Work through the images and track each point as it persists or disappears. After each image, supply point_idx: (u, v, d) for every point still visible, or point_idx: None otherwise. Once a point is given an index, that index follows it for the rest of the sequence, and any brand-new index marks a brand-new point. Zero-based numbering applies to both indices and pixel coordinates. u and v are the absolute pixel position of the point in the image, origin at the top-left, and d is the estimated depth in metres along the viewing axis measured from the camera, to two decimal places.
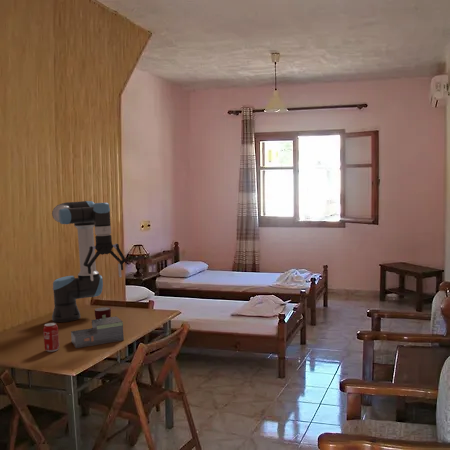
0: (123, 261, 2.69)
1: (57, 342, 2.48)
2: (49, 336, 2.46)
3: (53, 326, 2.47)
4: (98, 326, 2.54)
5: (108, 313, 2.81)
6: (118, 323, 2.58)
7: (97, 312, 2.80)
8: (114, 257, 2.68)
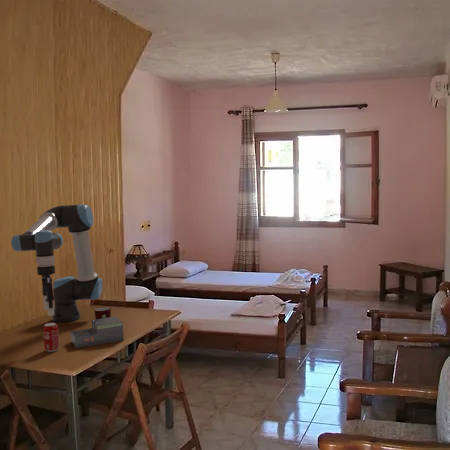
0: None
1: (57, 342, 2.48)
2: (49, 336, 2.46)
3: (53, 326, 2.47)
4: (98, 326, 2.54)
5: (108, 313, 2.81)
6: (118, 323, 2.58)
7: (97, 312, 2.80)
8: None
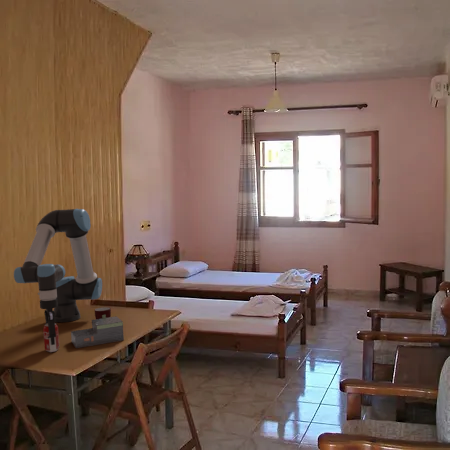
0: None
1: (57, 342, 2.48)
2: None
3: None
4: (98, 326, 2.54)
5: (108, 313, 2.81)
6: (118, 323, 2.58)
7: (97, 312, 2.80)
8: None
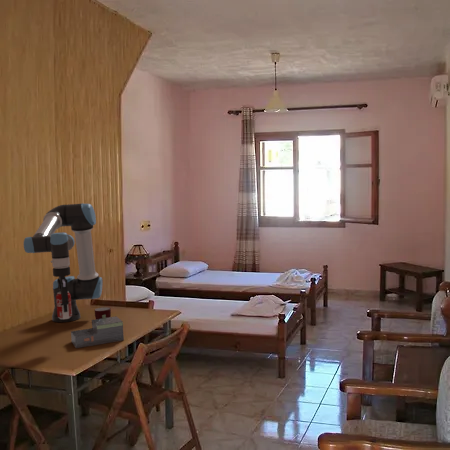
0: None
1: (70, 310, 2.51)
2: None
3: None
4: (98, 326, 2.54)
5: (108, 313, 2.81)
6: (118, 323, 2.58)
7: (97, 312, 2.80)
8: None
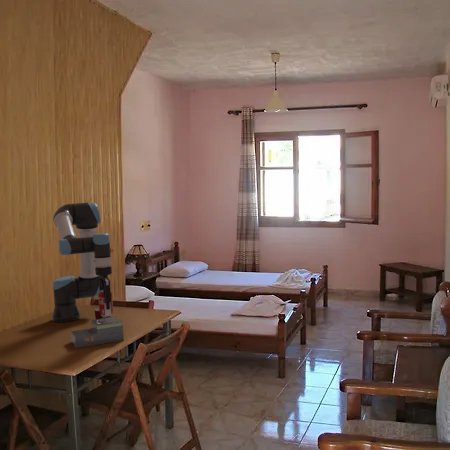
0: None
1: (111, 307, 2.60)
2: None
3: None
4: (98, 326, 2.54)
5: None
6: (118, 323, 2.58)
7: (97, 312, 2.80)
8: None
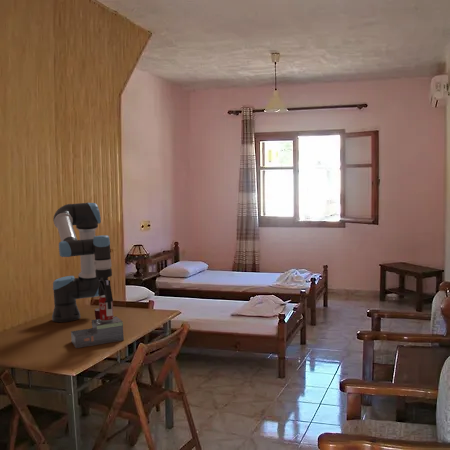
0: None
1: None
2: (105, 306, 2.58)
3: None
4: (98, 326, 2.54)
5: None
6: (118, 323, 2.58)
7: (97, 312, 2.80)
8: None
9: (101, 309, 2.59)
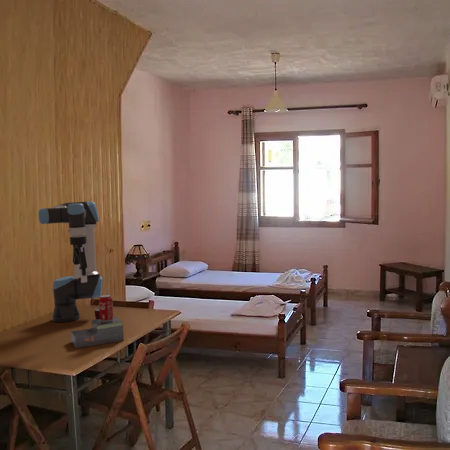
0: None
1: (112, 313, 2.61)
2: (105, 306, 2.58)
3: (108, 297, 2.59)
4: (98, 326, 2.54)
5: None
6: (118, 323, 2.58)
7: (97, 312, 2.80)
8: None
9: (101, 309, 2.59)
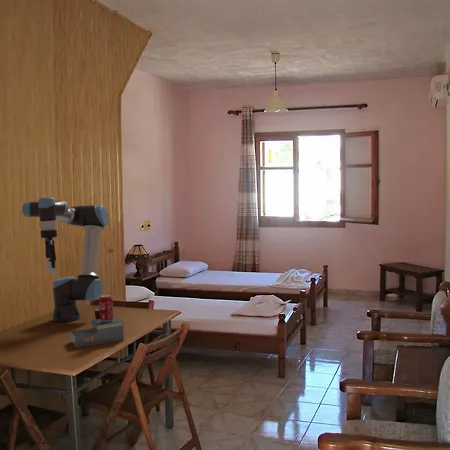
0: None
1: (112, 313, 2.61)
2: (105, 306, 2.58)
3: (108, 297, 2.59)
4: (98, 326, 2.54)
5: None
6: (118, 323, 2.58)
7: (97, 312, 2.80)
8: None
9: (101, 309, 2.59)
